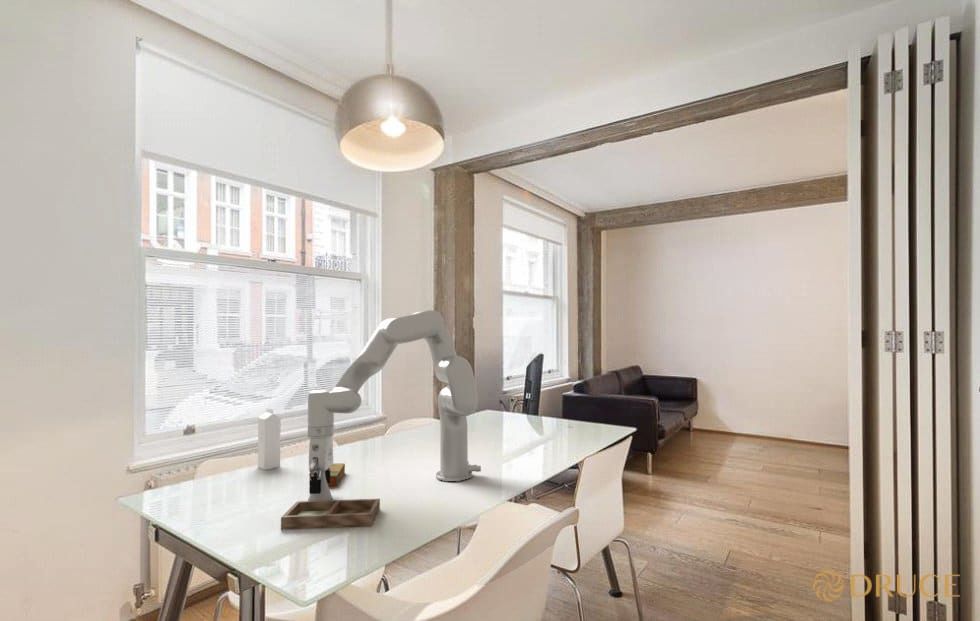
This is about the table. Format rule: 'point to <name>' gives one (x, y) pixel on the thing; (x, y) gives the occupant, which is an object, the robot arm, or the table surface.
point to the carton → (336, 474)
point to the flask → (322, 490)
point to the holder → (331, 514)
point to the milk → (269, 440)
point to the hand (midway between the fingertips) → (320, 488)
